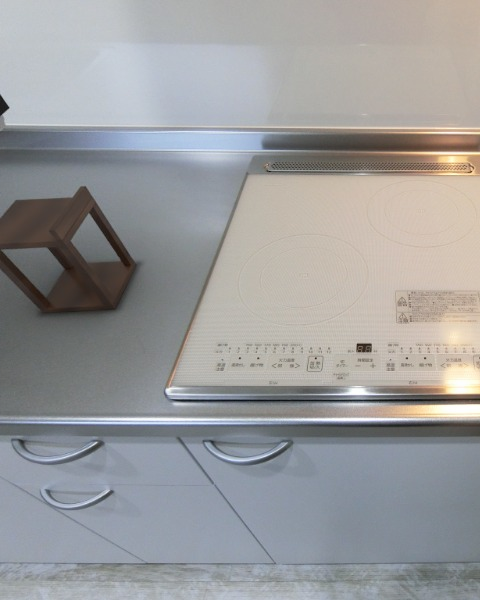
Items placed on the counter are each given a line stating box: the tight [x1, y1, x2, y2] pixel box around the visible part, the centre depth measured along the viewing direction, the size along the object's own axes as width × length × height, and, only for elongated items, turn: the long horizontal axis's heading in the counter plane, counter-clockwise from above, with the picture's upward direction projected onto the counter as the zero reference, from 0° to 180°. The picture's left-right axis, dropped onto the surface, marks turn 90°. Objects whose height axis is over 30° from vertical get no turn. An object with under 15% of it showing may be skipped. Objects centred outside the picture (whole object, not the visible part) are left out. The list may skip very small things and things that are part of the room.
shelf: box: [0, 185, 137, 314], centre depth 65 cm, size 11×10×16 cm
